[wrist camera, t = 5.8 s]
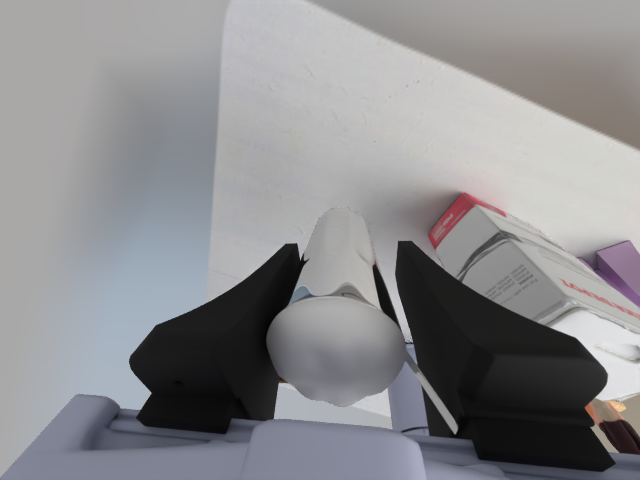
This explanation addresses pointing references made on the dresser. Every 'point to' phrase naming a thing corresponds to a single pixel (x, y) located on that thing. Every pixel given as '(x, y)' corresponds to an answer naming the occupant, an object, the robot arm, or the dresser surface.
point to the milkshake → (341, 320)
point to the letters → (620, 269)
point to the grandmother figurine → (614, 427)
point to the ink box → (541, 285)
